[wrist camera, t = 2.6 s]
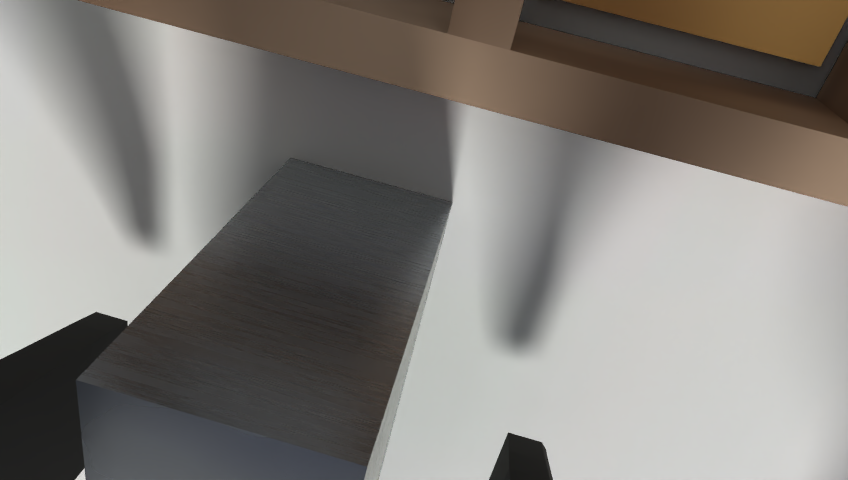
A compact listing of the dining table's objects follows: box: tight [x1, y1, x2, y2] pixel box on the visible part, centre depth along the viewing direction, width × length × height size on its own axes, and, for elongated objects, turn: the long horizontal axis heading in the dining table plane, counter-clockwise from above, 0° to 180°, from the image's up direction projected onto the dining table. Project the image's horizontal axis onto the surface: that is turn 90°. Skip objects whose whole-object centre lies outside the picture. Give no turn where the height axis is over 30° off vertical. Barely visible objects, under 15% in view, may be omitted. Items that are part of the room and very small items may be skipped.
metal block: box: [76, 158, 452, 480], centre depth 11 cm, size 3×8×6 cm, turn 168°
